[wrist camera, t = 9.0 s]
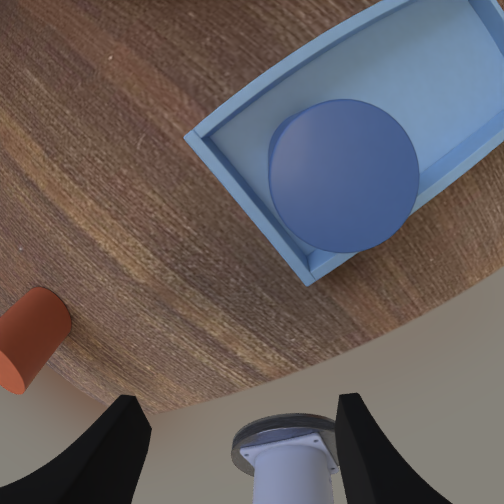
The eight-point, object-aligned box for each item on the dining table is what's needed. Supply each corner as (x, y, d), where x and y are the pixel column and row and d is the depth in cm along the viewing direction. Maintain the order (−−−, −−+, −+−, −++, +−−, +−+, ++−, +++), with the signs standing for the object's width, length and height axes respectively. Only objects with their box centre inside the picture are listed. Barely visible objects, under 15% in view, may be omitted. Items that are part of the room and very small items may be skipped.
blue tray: (302, 266, 18) (306, 287, 15) (195, 135, 15) (182, 137, 13) (524, 99, 12) (548, 100, 10) (450, -24, 10) (470, -36, 8)
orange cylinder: (81, 330, 21) (36, 392, 14) (49, 341, 22) (6, 396, 15) (48, 279, 19) (-10, 333, 13) (18, 296, 20) (-33, 344, 14)
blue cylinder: (370, 182, 15) (434, 223, 9) (289, 213, 16) (302, 275, 10) (339, 97, 14) (392, 80, 7) (253, 130, 15) (241, 133, 8)
